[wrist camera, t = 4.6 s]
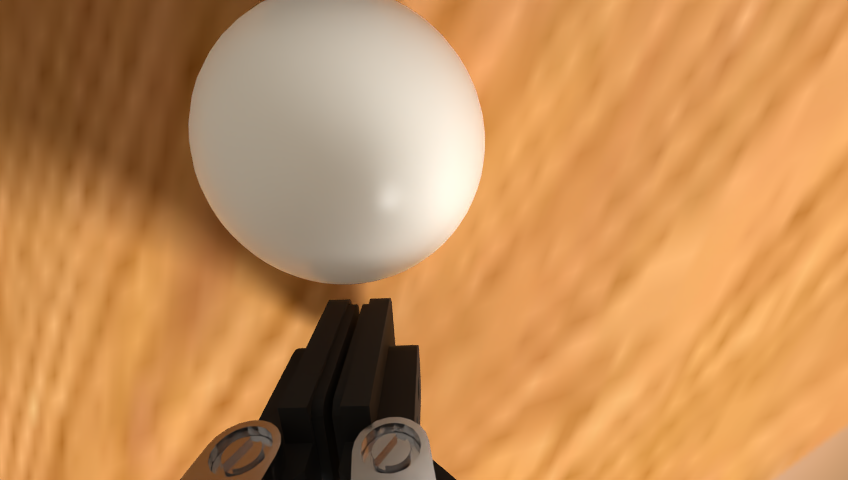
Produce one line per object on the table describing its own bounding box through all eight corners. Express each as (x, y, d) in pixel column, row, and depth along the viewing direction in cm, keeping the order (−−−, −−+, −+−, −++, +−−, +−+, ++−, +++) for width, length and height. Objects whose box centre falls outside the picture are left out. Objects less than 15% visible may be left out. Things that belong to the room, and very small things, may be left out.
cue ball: (308, -131, 3) (362, -98, 8) (37, 207, 5) (200, 84, 10) (577, 245, 6) (507, 115, 11) (332, 379, 8) (357, 223, 13)
